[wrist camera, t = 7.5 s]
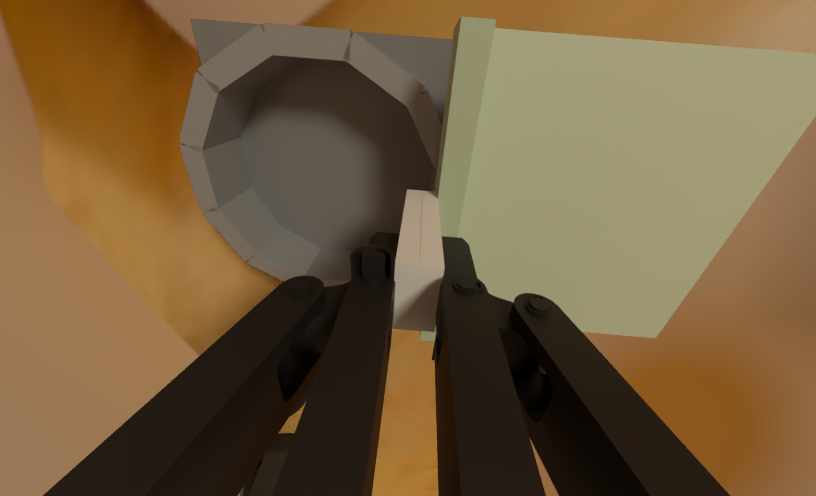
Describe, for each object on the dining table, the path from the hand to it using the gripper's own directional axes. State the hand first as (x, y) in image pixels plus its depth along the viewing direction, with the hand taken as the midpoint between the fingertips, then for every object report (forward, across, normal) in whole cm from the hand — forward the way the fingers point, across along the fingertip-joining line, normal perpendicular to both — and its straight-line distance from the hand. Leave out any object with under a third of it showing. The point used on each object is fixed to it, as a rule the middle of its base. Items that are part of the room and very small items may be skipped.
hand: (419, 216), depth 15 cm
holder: (+7, +6, 0) cm, 9 cm away
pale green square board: (+2, -9, 0) cm, 9 cm away
